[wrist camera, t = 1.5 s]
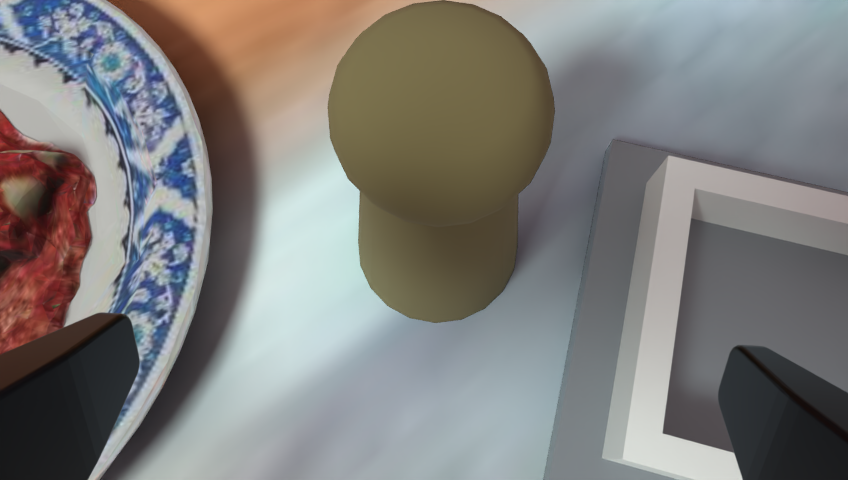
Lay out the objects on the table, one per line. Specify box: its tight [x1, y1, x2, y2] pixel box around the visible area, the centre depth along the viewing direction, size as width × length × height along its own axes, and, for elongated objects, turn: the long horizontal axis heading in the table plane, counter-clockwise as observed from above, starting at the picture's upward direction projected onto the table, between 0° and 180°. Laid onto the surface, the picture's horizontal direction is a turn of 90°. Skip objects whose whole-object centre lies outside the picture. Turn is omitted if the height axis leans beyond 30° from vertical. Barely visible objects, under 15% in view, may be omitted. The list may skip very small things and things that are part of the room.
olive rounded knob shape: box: [328, 0, 555, 323], centre depth 17 cm, size 6×6×11 cm
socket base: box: [543, 139, 848, 480], centre depth 20 cm, size 13×13×3 cm
